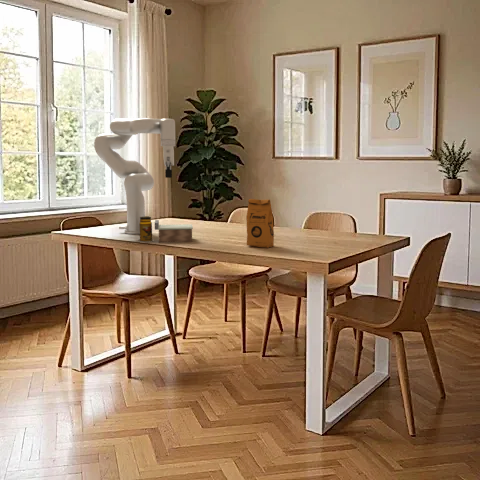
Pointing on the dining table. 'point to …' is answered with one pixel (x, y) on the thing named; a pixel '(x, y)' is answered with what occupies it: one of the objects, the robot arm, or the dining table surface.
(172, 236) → the box
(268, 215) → the coffee package
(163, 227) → the lid
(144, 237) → the condiment
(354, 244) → the dining table surface
